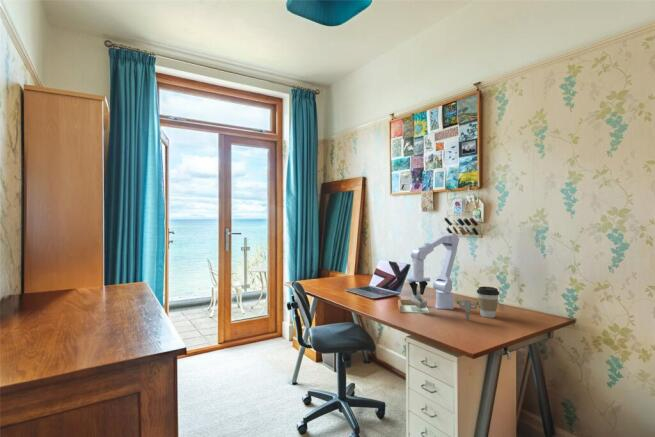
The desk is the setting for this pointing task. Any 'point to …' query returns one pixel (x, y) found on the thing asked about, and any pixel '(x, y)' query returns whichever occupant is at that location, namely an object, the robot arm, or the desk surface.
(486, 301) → the coffee cup
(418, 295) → the bracket
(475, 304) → the mechanical component
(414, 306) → the corner arena
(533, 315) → the desk surface
